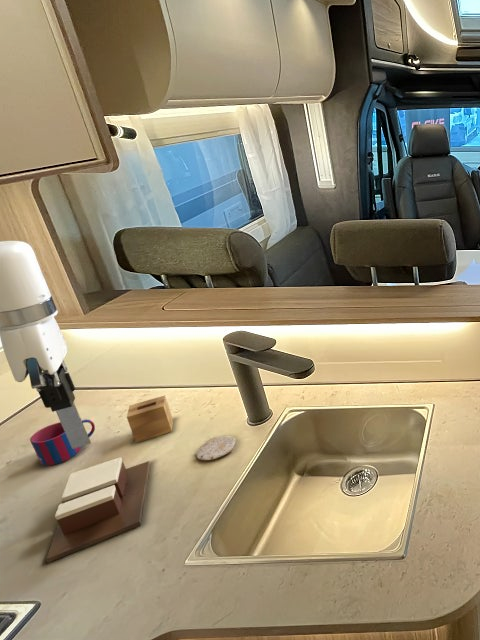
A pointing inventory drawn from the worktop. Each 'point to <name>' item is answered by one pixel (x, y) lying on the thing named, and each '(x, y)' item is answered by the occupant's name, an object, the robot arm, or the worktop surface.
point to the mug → (54, 444)
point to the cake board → (110, 526)
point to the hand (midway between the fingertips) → (60, 397)
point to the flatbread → (216, 447)
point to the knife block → (150, 418)
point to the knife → (70, 416)
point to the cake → (96, 479)
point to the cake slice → (88, 509)
